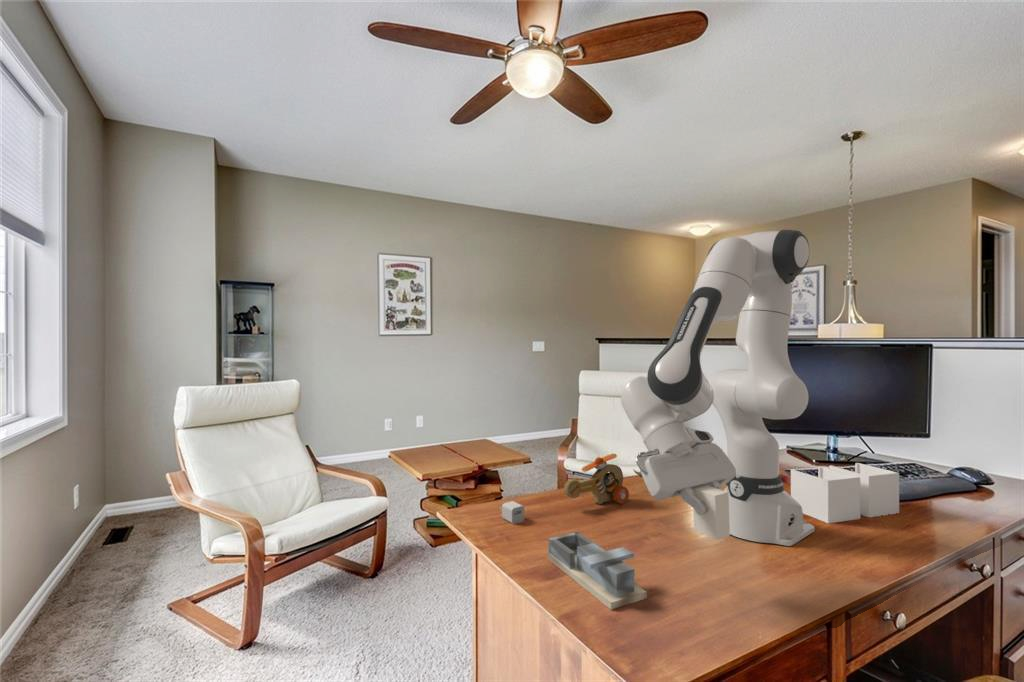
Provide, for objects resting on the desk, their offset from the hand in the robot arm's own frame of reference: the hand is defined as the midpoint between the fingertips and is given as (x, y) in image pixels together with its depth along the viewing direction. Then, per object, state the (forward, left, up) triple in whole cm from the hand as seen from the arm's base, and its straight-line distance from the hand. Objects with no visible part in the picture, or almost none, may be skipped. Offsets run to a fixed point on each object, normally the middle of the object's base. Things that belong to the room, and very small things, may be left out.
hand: (713, 510), depth 85 cm
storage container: (-66, -13, -15) cm, 69 cm away
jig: (+17, -15, -15) cm, 27 cm away
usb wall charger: (+18, -48, -15) cm, 54 cm away
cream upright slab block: (0, -1, -4) cm, 4 cm away
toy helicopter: (-9, -47, -15) cm, 50 cm away
